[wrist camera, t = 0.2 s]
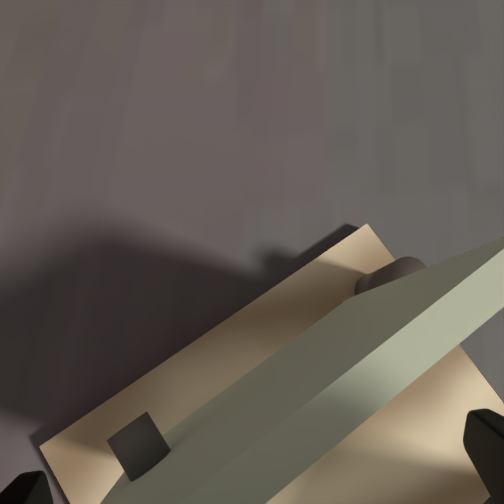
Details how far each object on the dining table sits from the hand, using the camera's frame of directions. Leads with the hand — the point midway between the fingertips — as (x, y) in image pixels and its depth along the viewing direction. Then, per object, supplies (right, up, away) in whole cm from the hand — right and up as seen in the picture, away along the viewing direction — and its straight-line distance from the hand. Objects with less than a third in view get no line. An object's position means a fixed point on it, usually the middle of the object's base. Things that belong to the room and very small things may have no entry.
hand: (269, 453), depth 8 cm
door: (-1, -2, +13) cm, 14 cm away
